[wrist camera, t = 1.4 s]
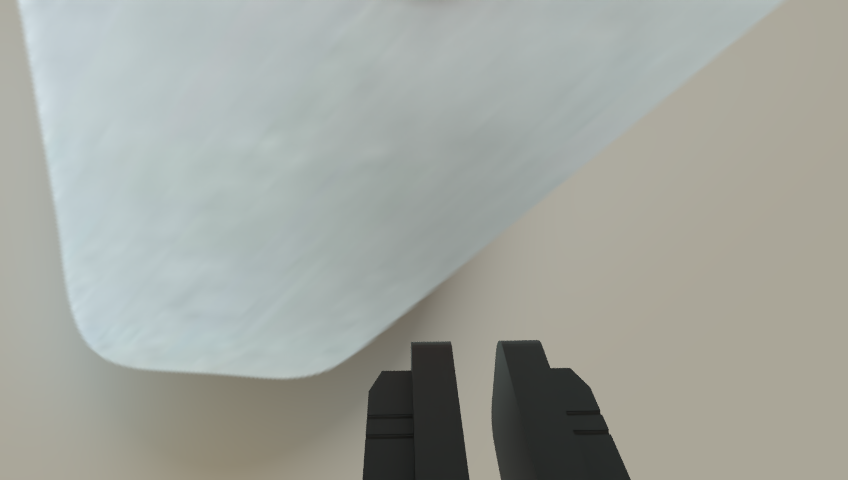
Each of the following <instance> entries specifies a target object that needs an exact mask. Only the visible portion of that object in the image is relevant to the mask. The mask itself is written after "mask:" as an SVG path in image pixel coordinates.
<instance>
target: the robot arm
mask: <svg viewBox="0 0 848 480" xmlns="http://www.w3.org/2000/svg"><path fill="white" fill-rule="evenodd" d="M367 412H368V413H367V425H366V440H365V454H364V468H363V480H469V473H468V466H467V458H466V451H465V443H464V435H463V428H462V420H461V414H460V405H459V398H458V390H457V383H456V375H455V368H454V360H453V352H452V345H451V342H411V371H382V372H381V374H380V375H379V377H378V378H377V380H376V381H375V383H374V384H373V386H372V387H371V389H370V390H369V397H368V411H367ZM492 430H493V439H494V444H495V450H496V455H497V460H498V466H499V471H500V476H501V480H631V479H630V477H629V475H628V473H627V470H626V468H625V466H624V463H623V461H622V459H621V457H620V454H619V452H618V450H617V448H616V445H615V443H614V441H613V438H612V436H611V435H609V432H608V430H609V429H608V427H607V425H606V422H605V420H604V418H603V416H602V415H601V414H600V409H599V407H598V404H597V402H596V400H595V398H594V395H593V393H592V391H591V388H590V387H589V386H588V385H587V384H586V383H585V382H584V381H583V380H582V379H581V378H580V377H579V376H578V375H577V374H575V372H574V371H573V370H572V369H570V368H550V366H549V364H548V361H547V358H546V355H545V352H544V350H543V347H542V344H541V342H540V341H538V340H528V341H527V340H522V341H498V344H497V349H496V359H495V372H494V384H493V396H492Z"/></svg>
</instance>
